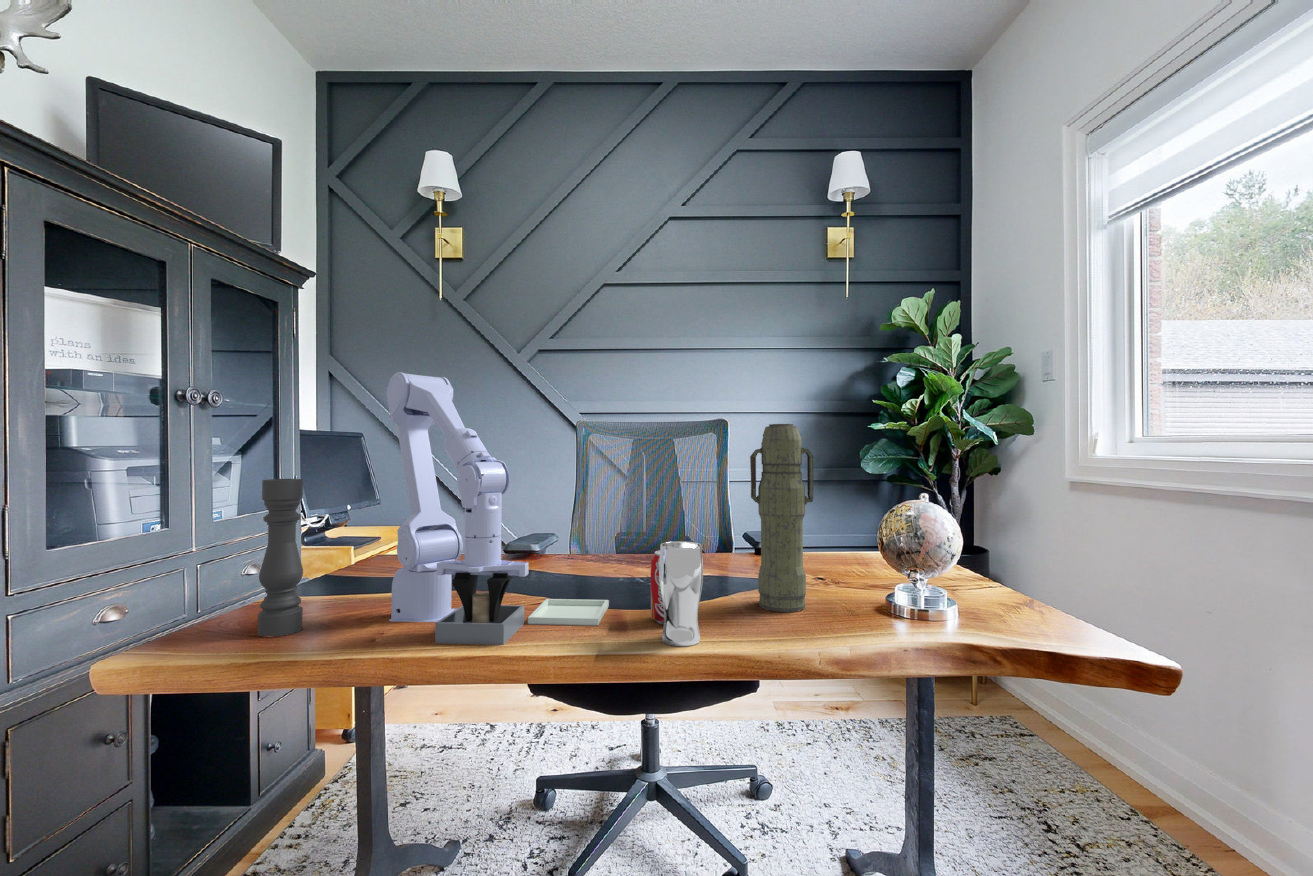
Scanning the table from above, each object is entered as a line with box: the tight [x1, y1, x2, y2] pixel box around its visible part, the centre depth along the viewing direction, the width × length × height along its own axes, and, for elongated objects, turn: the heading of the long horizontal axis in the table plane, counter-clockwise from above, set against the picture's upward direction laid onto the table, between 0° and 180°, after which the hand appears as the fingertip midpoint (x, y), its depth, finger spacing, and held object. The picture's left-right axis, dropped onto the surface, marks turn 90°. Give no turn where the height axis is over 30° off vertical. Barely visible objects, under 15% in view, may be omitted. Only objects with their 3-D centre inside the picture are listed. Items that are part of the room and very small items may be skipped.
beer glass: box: [659, 540, 704, 647], centre depth 89 cm, size 7×7×15 cm
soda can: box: [650, 549, 664, 626], centre depth 99 cm, size 7×7×12 cm
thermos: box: [749, 423, 814, 613], centre depth 109 cm, size 9×12×35 cm
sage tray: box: [527, 598, 610, 626], centre depth 101 cm, size 12×12×2 cm
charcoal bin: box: [434, 604, 525, 646], centre depth 91 cm, size 11×11×4 cm
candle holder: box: [257, 478, 304, 637], centre depth 93 cm, size 6×6×25 cm
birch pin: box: [472, 591, 493, 623], centre depth 91 cm, size 3×3×6 cm
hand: (482, 620), depth 91 cm, fingers closed on birch pin, 3 cm apart
